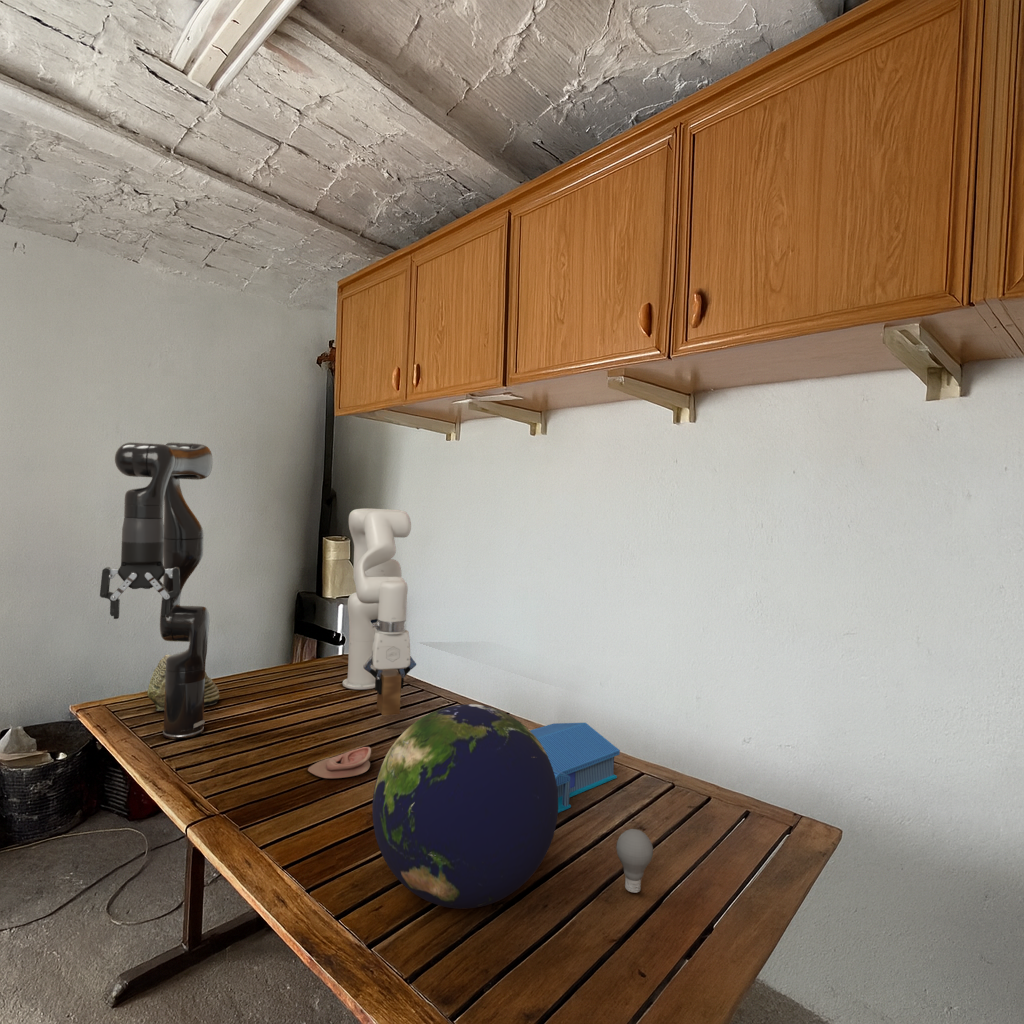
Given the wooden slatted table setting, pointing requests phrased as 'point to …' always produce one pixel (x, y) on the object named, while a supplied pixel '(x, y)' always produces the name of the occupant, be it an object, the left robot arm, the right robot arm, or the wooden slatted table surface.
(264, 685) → the wooden slatted table surface
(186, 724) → the left robot arm
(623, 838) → the light bulb
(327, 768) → the anatomical model
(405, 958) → the wooden slatted table surface
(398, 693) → the brick
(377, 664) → the right robot arm
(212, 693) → the fossil
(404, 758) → the globe
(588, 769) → the model building
